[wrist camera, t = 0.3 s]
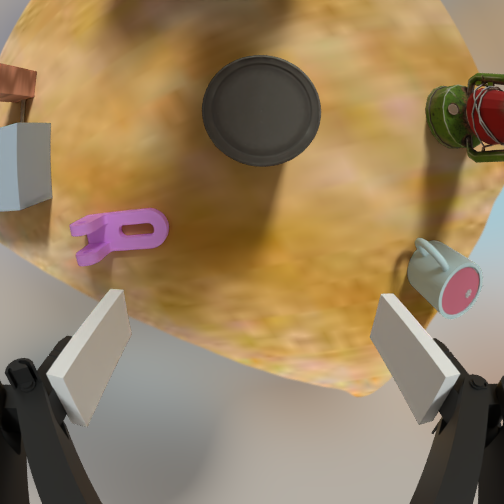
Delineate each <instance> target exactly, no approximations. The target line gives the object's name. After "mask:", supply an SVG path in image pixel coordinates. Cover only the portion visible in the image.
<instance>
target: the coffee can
mask: <svg viewBox="0 0 504 504" xmlns="http://www.w3.org/2000/svg"><path fill="white" fill-rule="evenodd" d="M202 117H203V122H204V126H205V129H206V131H207V133H208V135H209V137H210V139H211V140H212V142H213V143H214V144H215V146H216V147H217V148H218V149H219V150H220V151H222V152H223V153H224V154H225V155H227V156H228V157H230V158H232V159H233V160H235V161H238V162H240V163H243V164H246V165H251V166H259V167H266V166H274V165H278V164H282V163H285V162H287V161H290V160H292V159H293V158H295V157H296V156H298V155H299V154H301V153H302V152H303V151H304V150H305V149H306V148H307V147H308V146H309V145H310V143H311V142H312V140H313V139H314V137H315V135H316V133H317V131H318V128H319V124H320V119H321V105H320V100H319V96H318V93H317V91H316V89H315V87H314V85H313V83H312V82H311V80H310V79H309V78H308V76H307V75H306V74H305V73H304V72H303V71H302V70H301V69H299V68H298V67H297V66H295V65H294V64H292V63H290V62H288V61H286V60H284V59H281V58H277V57H273V56H267V55H254V56H248V57H243V58H240V59H237V60H235V61H233V62H231V63H229V64H228V65H226V66H225V67H223V68H222V69H221V70H220V71H219V72H218V73H217V74H216V75H215V76H214V77H213V79H212V80H211V82H210V83H209V85H208V87H207V89H206V92H205V95H204V98H203V104H202Z"/></svg>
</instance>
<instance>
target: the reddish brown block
mask: <svg viewBox="0 0 504 504" xmlns="http://www.w3.org/2000/svg"><path fill="white" fill-rule="evenodd" d="M36 75H37V72H36V71H32V70H28V69H23V68H19V67H15V66H10V65H6V64H1V63H0V101H2V102H19V101H22V104H21V119H20V123H24V113H25V100H26V99H29V98H32V97H34V92H35V83H36Z"/></svg>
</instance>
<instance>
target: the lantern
mask: <svg viewBox="0 0 504 504" xmlns="http://www.w3.org/2000/svg"><path fill="white" fill-rule="evenodd" d="M486 83H488V85H487V84H486ZM494 84H500V85H504V74H489V73H488V74H487V73H477V74H475V75H474V76H472V77H471V78H470V79H469V81H468V87H466V86H461V85H454V86H449V87H447V86H440V87H437V88H435V89H433V90H432V92H431V93H430V95H429V96H428V98H427V103H426V108H425V109H426V118H427V123H428V125H429V128H430V130H431V132H432V134H433V136H434V137H435V138H436V139H437V140H438V142H439V143H440V144H442V145H444V146H446V147H447V148H461V147H462V148H467V154H468V157H469V158H471V159H472V160H473V161H475V162H476V163H477V162H501V161H504V150H491V151H485V147H489V146H492V145H496V144H501V145H504V92H503V91H502V90H501V89H500V88H499V87H494ZM475 85H477V86H478V87H477V88H476V89H475V90H474V86H475ZM482 86H486V87H487V88H485V89H484V88H481V89H479V88H480V87H482ZM488 86H489V87H488ZM489 88H490V89H489ZM477 89H479V90H477ZM476 90H477V91H476ZM498 90H500V91H498ZM482 141H483V142H485V143H487V144H490V145H486V146H484V144H483V143H482ZM480 143H481V144H482V145H483V147H482V151H479V152H477V151H476V150H474V149H473V148H474V147H476V146H478V145H479V144H480ZM483 148H484V150H483Z"/></svg>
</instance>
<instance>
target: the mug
mask: <svg viewBox="0 0 504 504" xmlns="http://www.w3.org/2000/svg"><path fill="white" fill-rule="evenodd" d="M415 246H416V248H417V250H416V251H415V252H414V254H413V255H412V257H411V259H410V262H409V265H408V280H409V282H410V284H411V285H412V286H413V287H414V288H415V289H416V290H417V291H418V292H419V293H420V294H421V295H422V296H423V297H424V298H425V299H426V300H427V301H428V302H429V303H430V304H431V305H432V306H433V307H434V308H435V309H436V310H437V311H438V312H439V313H440V314H441V315H442V316H443V317H445V318H447V319H455V318H458V317H460V316H462V315H463V314H465V313H466V312H467V311H468V310H469V309H470V308H471V307H472V306H473V304H474V303H475V302H476V300H477V298H478V296H479V294H480V291H481V288H482V283H483V274H482V271H481V268H480V267H479V266H478V265H477V264H476V263H474V262H473V261H471V260H469V259H468V258H466V257H465V256H463V255H462V254H460V253H458V252H457V251H455V250H453V249H452V248H450V247H448V246H447V245H445V244H443V243H442V242H440V241H436V240H432V241H426V240H425V239H423V238H417V239H416V240H415Z"/></svg>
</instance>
